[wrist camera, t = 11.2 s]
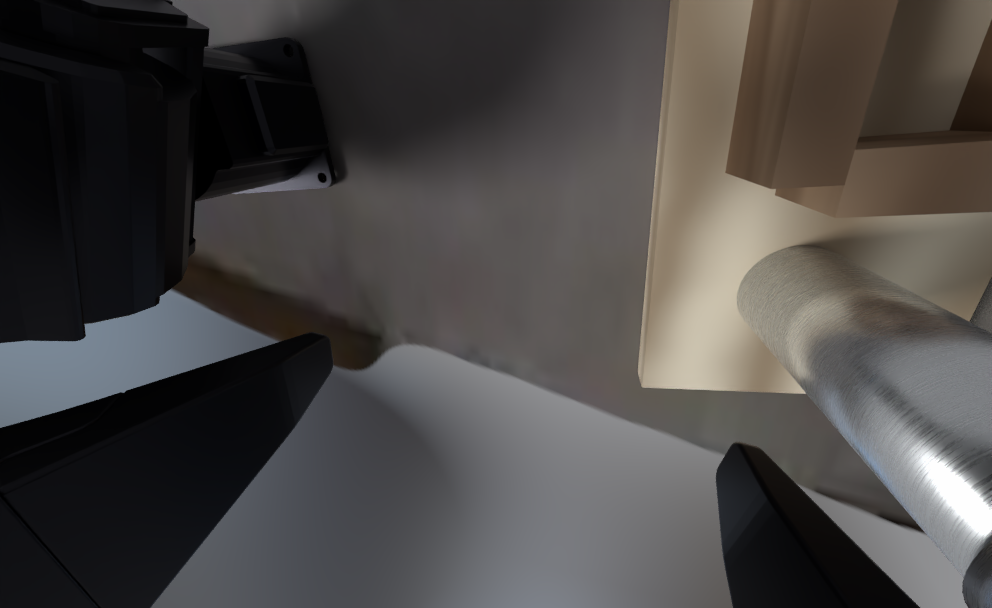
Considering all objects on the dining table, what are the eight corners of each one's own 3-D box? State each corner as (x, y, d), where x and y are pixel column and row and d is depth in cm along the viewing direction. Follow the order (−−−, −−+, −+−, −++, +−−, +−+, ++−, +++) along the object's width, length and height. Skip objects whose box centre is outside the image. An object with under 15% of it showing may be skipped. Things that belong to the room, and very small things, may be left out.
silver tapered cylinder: (721, 339, 19) (962, 696, 7) (740, 240, 17) (1126, 521, 5) (839, 341, 18) (1336, 757, 6) (875, 235, 16) (1736, 571, 4)
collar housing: (637, 371, 22) (657, 443, 17) (676, -65, 14) (733, -164, 9) (906, 379, 19) (1018, 466, 15) (1143, -146, 11) (1571, -343, 7)
